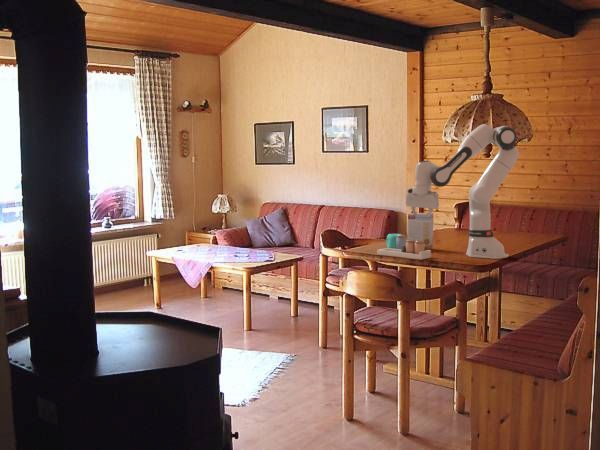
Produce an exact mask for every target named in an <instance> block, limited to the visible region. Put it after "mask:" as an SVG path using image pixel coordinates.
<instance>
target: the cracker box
mask: <svg viewBox="0 0 600 450" xmlns="http://www.w3.org/2000/svg"><path fill="white" fill-rule="evenodd" d="M427 213H428V212H417V215H413V212H410V213H407V240H416V241H424V251H426V250H431V251H432V250H433V249H434V213H433V212H432V213H431V216H430V217H427Z"/></svg>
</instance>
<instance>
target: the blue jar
mask: <svg viewBox="0 0 600 450" xmlns="http://www.w3.org/2000/svg"><path fill="white" fill-rule="evenodd" d="M406 240H407V236H406V234H401V235H396V249H401V246H404V245H406Z"/></svg>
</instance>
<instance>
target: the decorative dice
mask: <svg viewBox="0 0 600 450" xmlns="http://www.w3.org/2000/svg"><path fill="white" fill-rule="evenodd" d="M396 235H402V234H401V233H388V234H387V235H386V248H392V249H396Z"/></svg>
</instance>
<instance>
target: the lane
mask: <svg viewBox="0 0 600 450" xmlns="http://www.w3.org/2000/svg"><path fill="white" fill-rule="evenodd" d="M431 251H432V250H424V251H421V252H419V254H412V253H403V252H401V249H392V248H388V247H385V248H380V249H377V250H376V255H380V256H387V257H388V256H389V257H396V258H403V259H404V258H405V259H413V260H425V259H430V258H432V253H431Z"/></svg>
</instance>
